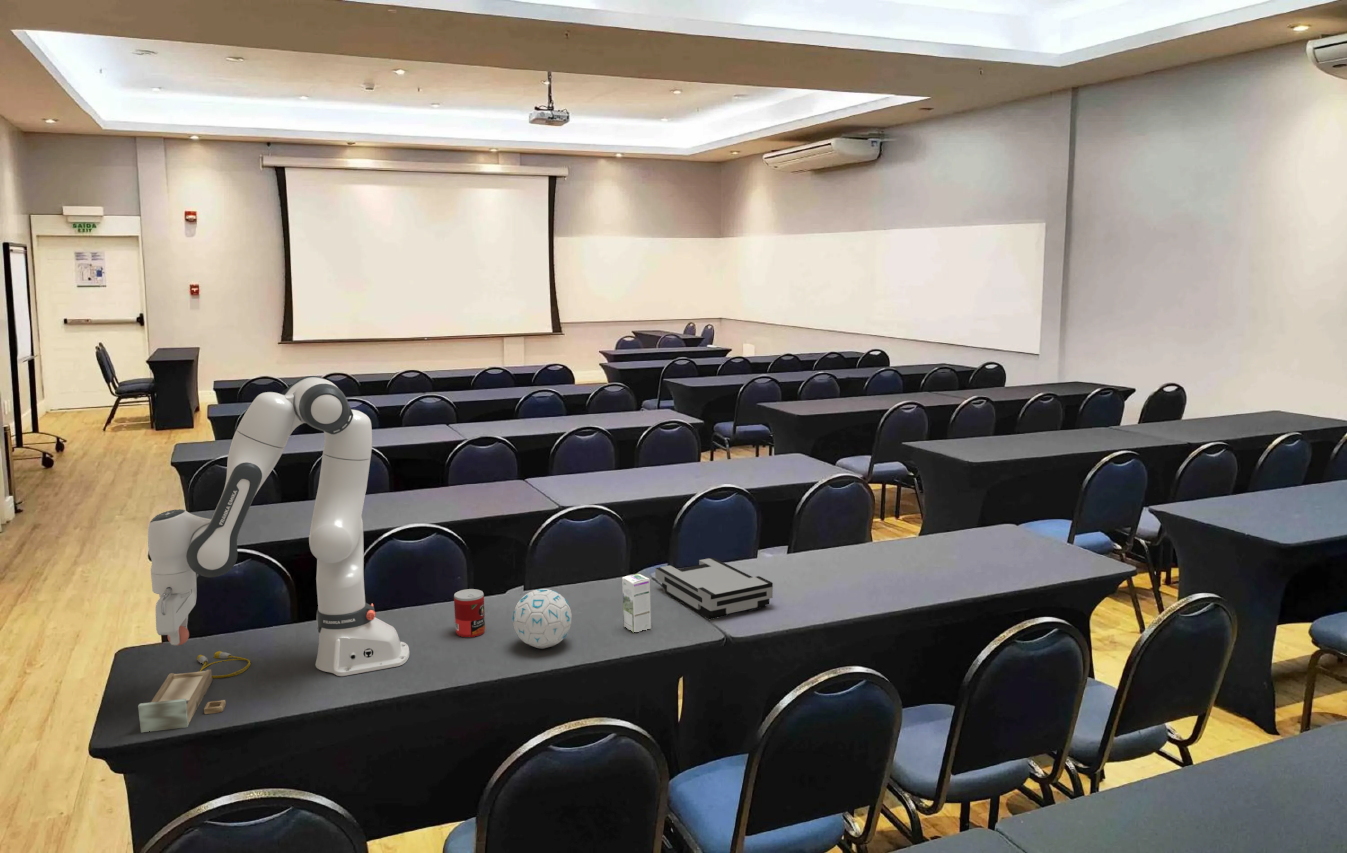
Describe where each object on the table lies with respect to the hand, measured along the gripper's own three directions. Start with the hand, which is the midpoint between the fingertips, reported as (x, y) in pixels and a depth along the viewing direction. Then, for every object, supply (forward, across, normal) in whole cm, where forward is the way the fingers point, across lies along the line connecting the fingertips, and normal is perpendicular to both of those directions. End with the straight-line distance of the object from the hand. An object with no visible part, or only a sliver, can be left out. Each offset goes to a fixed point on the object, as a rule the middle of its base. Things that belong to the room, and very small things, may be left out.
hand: (179, 638), depth 215 cm
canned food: (+13, +20, -66) cm, 70 cm away
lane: (+13, -6, 0) cm, 14 cm away
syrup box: (+13, +12, -110) cm, 111 cm away
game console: (+13, +28, -136) cm, 140 cm away
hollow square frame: (+13, -10, -9) cm, 19 cm away
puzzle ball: (+13, +6, -84) cm, 85 cm away
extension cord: (+14, +15, -6) cm, 21 cm away
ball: (-1, 0, 0) cm, 1 cm away
